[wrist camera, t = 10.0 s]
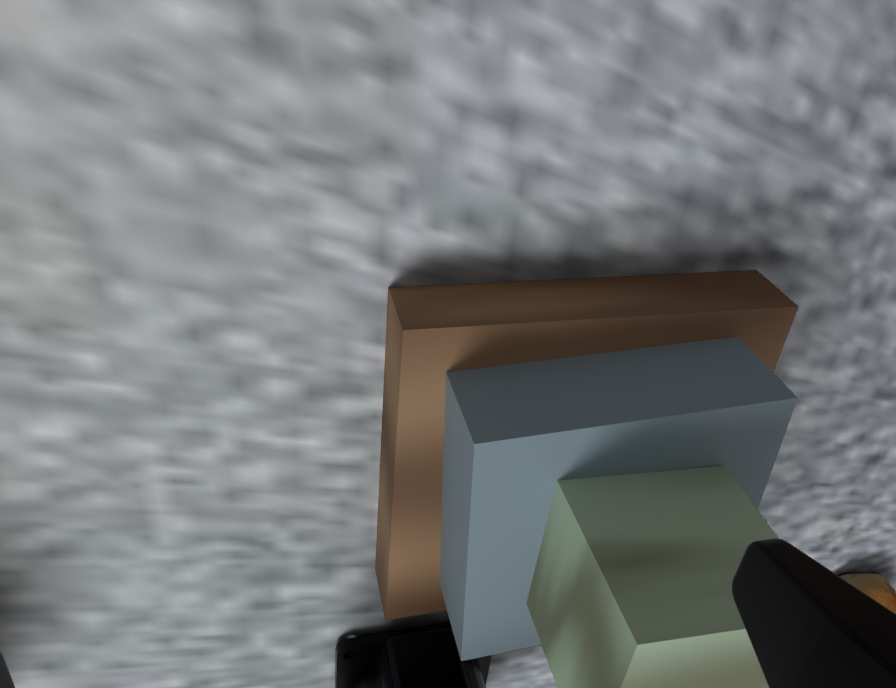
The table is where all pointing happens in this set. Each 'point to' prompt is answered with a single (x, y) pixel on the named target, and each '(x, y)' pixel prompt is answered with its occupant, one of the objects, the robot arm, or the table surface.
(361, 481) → the table surface
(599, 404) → the slate top slab
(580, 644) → the sage block
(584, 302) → the walnut base slab
